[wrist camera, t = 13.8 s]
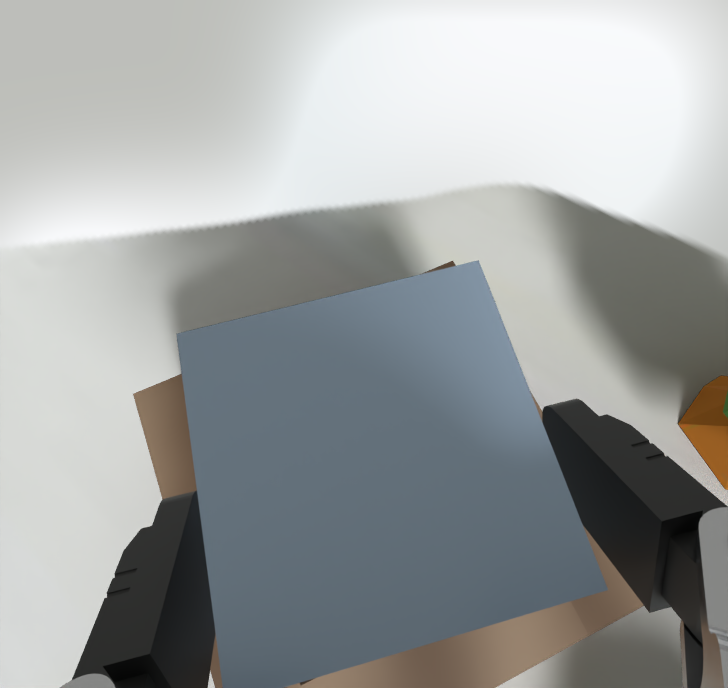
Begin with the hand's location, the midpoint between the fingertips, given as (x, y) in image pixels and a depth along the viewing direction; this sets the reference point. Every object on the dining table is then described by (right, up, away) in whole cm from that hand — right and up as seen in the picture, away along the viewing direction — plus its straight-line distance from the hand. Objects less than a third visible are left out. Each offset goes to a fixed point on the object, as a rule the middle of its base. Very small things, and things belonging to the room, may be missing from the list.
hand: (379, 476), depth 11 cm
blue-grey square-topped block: (0, -2, +7) cm, 7 cm away
